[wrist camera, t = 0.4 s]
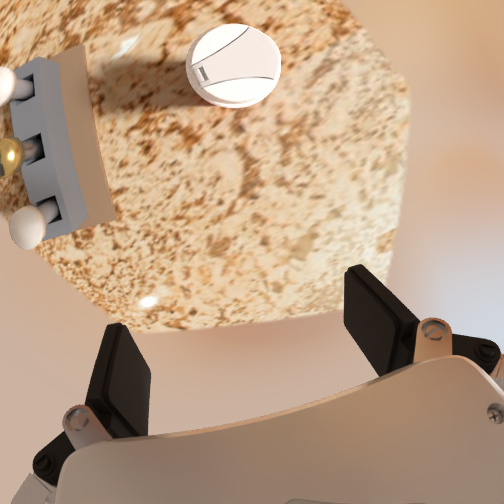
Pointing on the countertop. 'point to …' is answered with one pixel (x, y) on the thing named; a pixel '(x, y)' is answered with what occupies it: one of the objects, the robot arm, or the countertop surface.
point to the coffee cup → (233, 65)
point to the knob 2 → (32, 223)
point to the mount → (63, 143)
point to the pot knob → (18, 154)
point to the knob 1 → (14, 87)
